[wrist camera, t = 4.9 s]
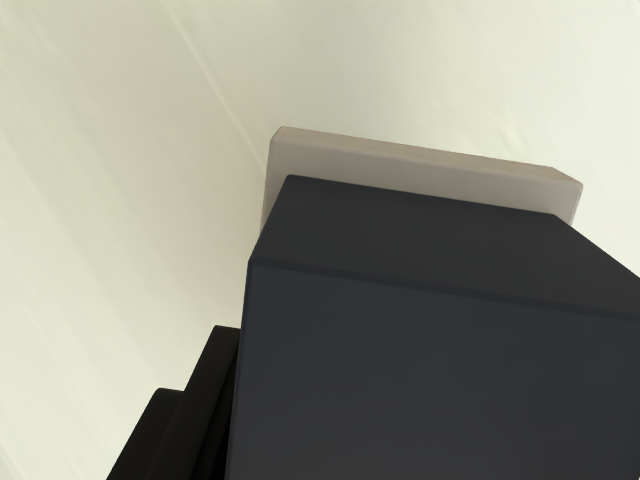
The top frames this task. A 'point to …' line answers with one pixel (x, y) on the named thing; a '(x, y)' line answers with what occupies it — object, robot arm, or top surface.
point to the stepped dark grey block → (430, 323)
